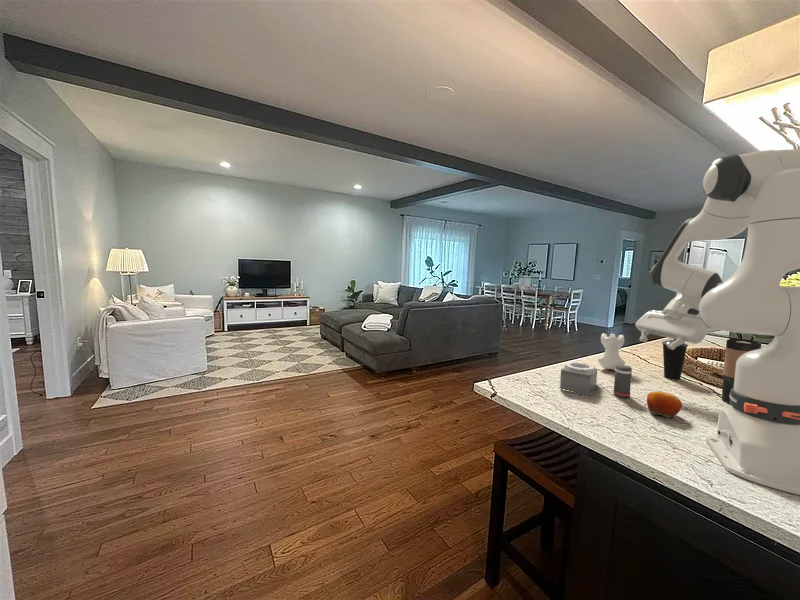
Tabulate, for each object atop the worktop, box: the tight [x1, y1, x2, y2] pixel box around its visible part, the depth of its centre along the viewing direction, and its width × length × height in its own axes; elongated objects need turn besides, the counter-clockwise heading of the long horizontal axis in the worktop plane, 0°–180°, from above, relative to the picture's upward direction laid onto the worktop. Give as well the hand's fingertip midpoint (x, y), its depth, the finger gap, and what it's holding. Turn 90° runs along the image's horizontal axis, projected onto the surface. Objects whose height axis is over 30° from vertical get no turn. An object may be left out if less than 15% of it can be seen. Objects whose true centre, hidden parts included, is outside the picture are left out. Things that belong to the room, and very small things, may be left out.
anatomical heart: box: [597, 332, 626, 371], centre depth 137 cm, size 10×11×15 cm
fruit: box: [646, 390, 683, 420], centre depth 95 cm, size 8×8×8 cm
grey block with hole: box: [559, 361, 598, 397], centre depth 118 cm, size 14×9×8 cm, turn 140°
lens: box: [613, 364, 633, 400], centre depth 109 cm, size 5×5×10 cm
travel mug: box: [721, 338, 762, 404], centre depth 103 cm, size 8×8×20 cm
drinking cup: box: [661, 339, 689, 381], centre depth 126 cm, size 8×8×20 cm
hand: (655, 344), depth 111 cm, fingers open, 8 cm apart
